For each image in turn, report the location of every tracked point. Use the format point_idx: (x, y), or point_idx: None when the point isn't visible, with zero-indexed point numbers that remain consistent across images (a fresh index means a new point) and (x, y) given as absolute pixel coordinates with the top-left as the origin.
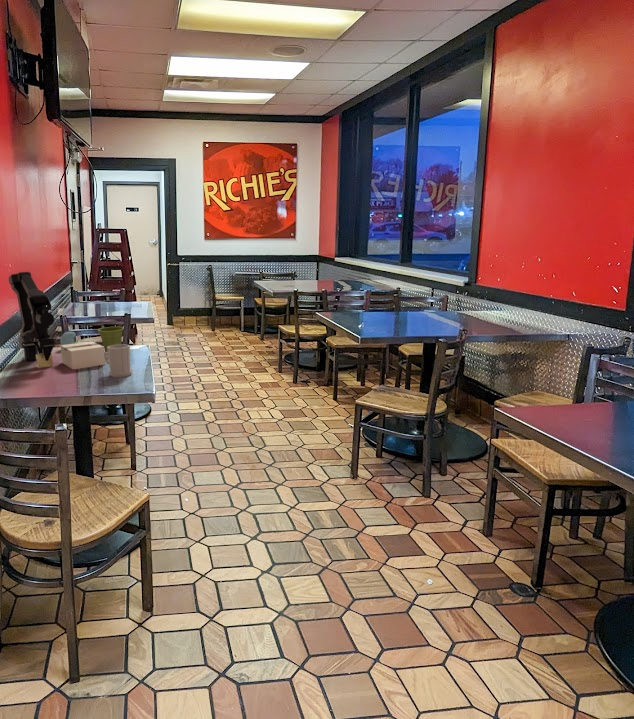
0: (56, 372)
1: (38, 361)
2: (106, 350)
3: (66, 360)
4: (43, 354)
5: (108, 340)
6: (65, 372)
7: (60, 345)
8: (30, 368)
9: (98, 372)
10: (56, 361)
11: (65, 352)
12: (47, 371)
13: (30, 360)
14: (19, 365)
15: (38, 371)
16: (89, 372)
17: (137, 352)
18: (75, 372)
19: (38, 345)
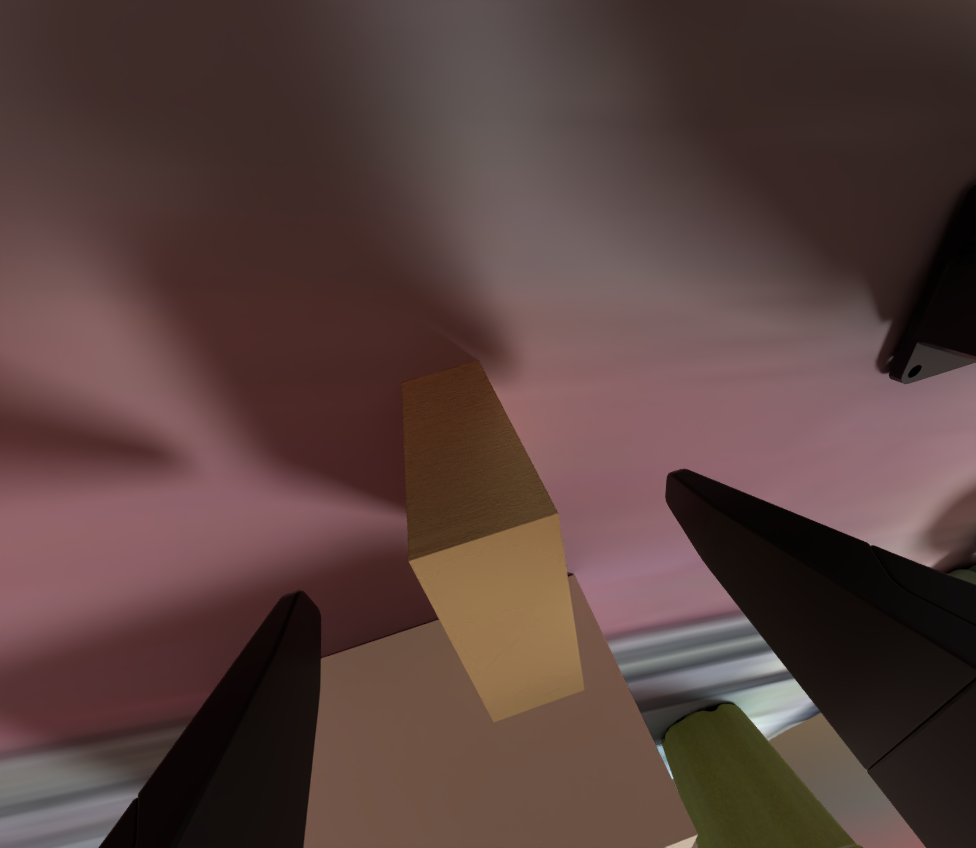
0: (41, 611)
1: (410, 453)
2: (699, 733)
3: (411, 692)
4: (454, 638)
5: (719, 843)
6: (43, 678)
7: (689, 834)
8: (439, 255)
9: (47, 833)
10: (674, 523)
11: (427, 820)
12: (122, 514)
13: (947, 253)
14: (820, 26)
15: (133, 399)
16: (46, 801)
17: None
18: (44, 738)
19: (964, 716)
